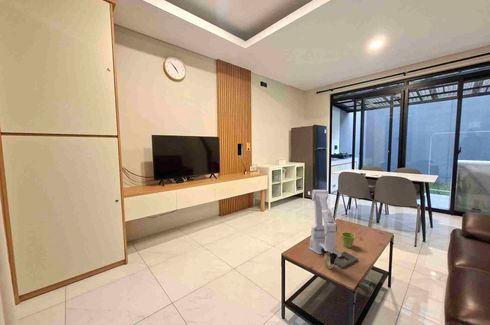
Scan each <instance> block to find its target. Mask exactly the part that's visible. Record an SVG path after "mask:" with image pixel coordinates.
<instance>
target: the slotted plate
mask: <svg viewBox="0 0 490 325" xmlns="http://www.w3.org/2000/svg"><path fill="white" fill-rule="evenodd" d="M340 253H341V256H340V257H338V256H337V257H336V259H335V261H334V266H337V267H338V268H339V269H342V270H344V269H345V268H347V267H349V266H351V265H353V264H355V263H357V262H359V257H356V256H354V255H352V254H351V253H348V252H346V251H342V252H340ZM341 259H344V260H345V261H344V260H341Z"/></svg>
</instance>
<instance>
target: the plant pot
mask: <svg viewBox="0 0 490 325" xmlns="http://www.w3.org/2000/svg"><path fill="white" fill-rule="evenodd" d="M340 235H341V236H342V245H343V247H345V248H347V249H348V248H353V246H354V241H355V238H356V235H355V233H351V232H348V231H347V232H346V231H343V232H341V233H340Z"/></svg>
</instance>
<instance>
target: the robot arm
mask: <svg viewBox="0 0 490 325" xmlns="http://www.w3.org/2000/svg"><path fill="white" fill-rule="evenodd" d="M328 200H329V192H328V189H312V191H311V201H312V202H314V219H315V220H314V221H315V222H314V223H315V224H314V225H312V226H311V231H310V235H311V237H310V239H309V247H308V249H309V250H311V251H312V252H314V253H316V254H318V255H321V254H322V257H324V254H325V253H328V252H329V253H331V254H330V259H331V265H332V264H334V261H335V259H336V257H337V256H338V257H340V256H341V253H342V252H340V251H339V250H337V248H336V245H335V244H336V233H337V232H338V224H337V222H336V221H335V220H334V218H333V214H332V211H330V209H329V204H328ZM323 223H324V224H323ZM334 265H335V264H334Z"/></svg>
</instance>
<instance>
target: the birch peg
mask: <svg viewBox="0 0 490 325" xmlns="http://www.w3.org/2000/svg"><path fill="white" fill-rule="evenodd" d="M331 253H332V252H328V253H325V254H324V256H323V266H324V267H325V268H327V269H328V270H331V269H333V268H334V267H335V264H332V265H331V259H330V254H331Z"/></svg>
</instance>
